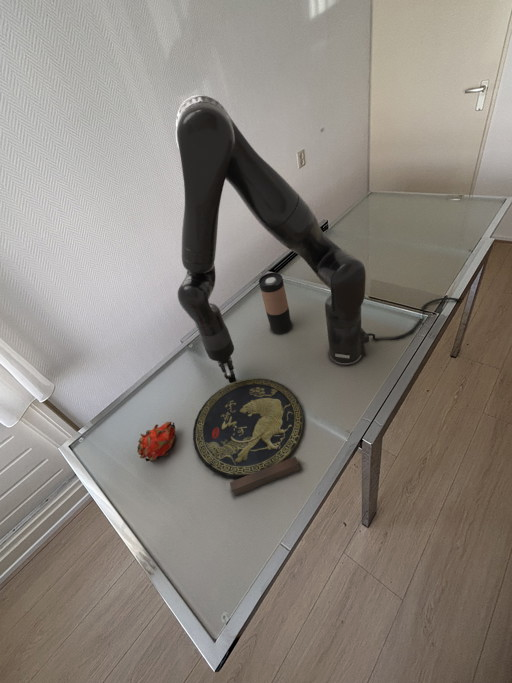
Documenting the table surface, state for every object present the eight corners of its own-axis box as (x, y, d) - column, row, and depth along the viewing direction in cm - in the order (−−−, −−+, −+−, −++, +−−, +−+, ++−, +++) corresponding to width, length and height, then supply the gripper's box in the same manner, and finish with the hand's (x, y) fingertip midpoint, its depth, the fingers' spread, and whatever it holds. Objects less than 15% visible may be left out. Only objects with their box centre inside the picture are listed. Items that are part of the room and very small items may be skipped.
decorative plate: (176, 472, 78) (209, 377, 99) (179, 475, 79) (210, 381, 100) (298, 481, 70) (305, 376, 91) (299, 485, 71) (306, 380, 92)
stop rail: (297, 462, 75) (295, 456, 73) (300, 470, 74) (298, 464, 72) (233, 487, 74) (229, 482, 72) (235, 495, 73) (231, 490, 71)
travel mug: (271, 321, 116) (259, 273, 102) (292, 319, 114) (283, 270, 100) (269, 335, 110) (256, 287, 97) (291, 333, 108) (281, 284, 95)
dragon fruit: (145, 469, 85) (179, 437, 92) (154, 471, 78) (191, 437, 85) (125, 444, 84) (162, 414, 91) (133, 444, 77) (171, 412, 84)
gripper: (235, 351, 80) (250, 392, 92) (225, 321, 90) (239, 362, 102) (207, 360, 80) (225, 401, 92) (199, 329, 90) (217, 369, 101)
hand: (232, 380), depth 97 cm, fingers closed
